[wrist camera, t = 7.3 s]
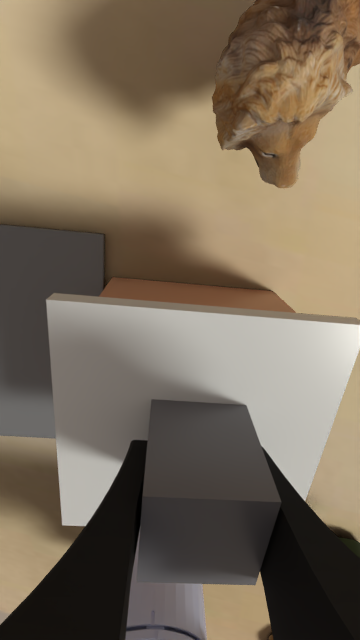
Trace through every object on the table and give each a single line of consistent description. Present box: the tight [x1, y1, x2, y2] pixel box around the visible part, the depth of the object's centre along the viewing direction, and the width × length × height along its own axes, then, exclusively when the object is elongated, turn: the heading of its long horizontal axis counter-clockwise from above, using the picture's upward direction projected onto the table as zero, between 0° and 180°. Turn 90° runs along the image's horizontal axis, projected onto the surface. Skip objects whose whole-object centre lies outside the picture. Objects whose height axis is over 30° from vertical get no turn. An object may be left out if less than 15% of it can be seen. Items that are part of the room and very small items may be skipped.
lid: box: [46, 293, 360, 585], centre depth 12 cm, size 12×12×5 cm
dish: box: [99, 277, 296, 313], centre depth 19 cm, size 10×10×4 cm
